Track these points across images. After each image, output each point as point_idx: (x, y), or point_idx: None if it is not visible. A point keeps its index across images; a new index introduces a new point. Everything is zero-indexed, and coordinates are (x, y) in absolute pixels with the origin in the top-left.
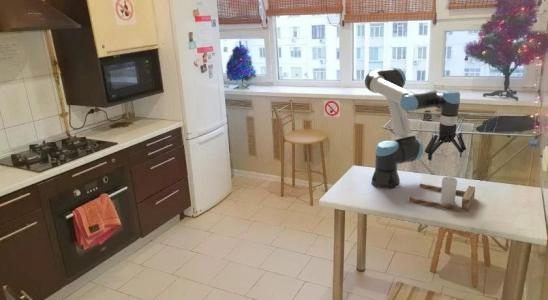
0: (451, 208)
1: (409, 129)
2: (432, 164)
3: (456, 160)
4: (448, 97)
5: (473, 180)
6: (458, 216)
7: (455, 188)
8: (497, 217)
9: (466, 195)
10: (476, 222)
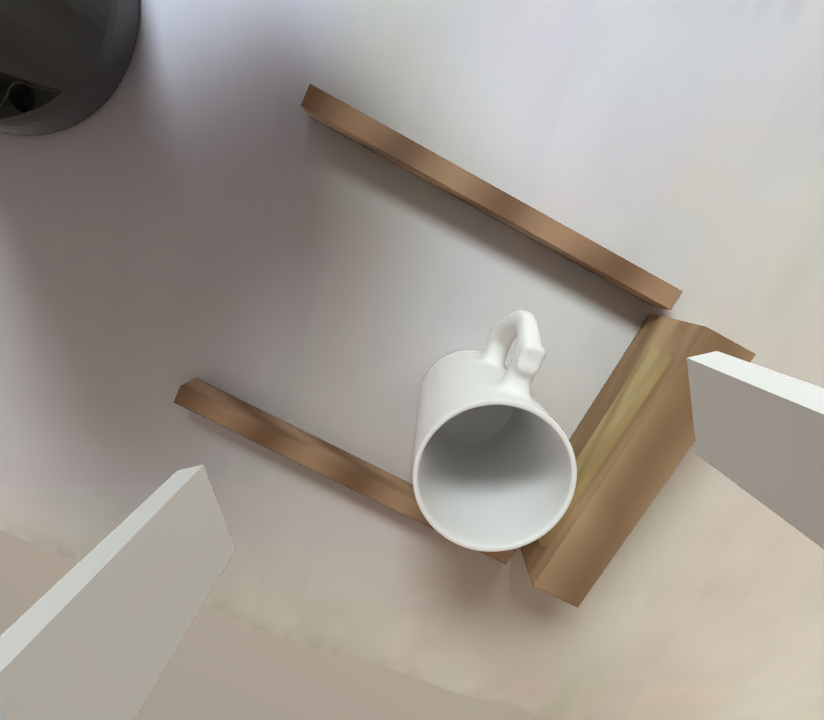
0: None
1: None
2: (202, 588)
3: (737, 437)
4: None
5: None
6: (466, 601)
7: (528, 485)
8: (697, 617)
9: (591, 529)
10: (544, 668)
